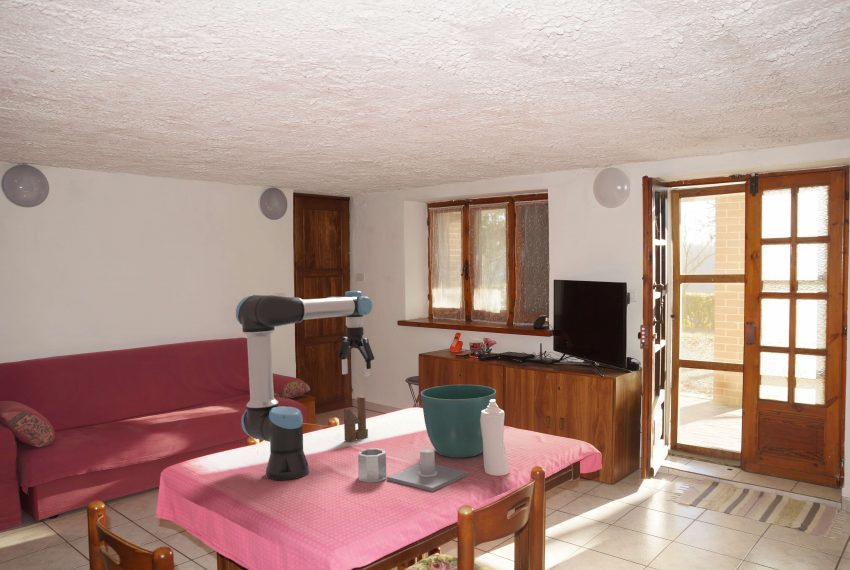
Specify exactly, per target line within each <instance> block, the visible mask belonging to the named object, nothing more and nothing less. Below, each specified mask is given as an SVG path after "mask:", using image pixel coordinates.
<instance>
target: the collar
mask: <svg viewBox="0 0 850 570" xmlns="http://www.w3.org/2000/svg"><path fill="white" fill-rule="evenodd" d="M357 460H358V461H357V468H358V481H360V482H361V483H367V484H368V483H370V484H371V483H380V482H383V481H385V480H387V452H386V449H384V448H383V449H382V448H377V447H375V448H374V447H373V448H365V449H360V450H359V451H357Z"/></svg>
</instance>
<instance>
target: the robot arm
mask: <svg viewBox="0 0 850 570" xmlns="http://www.w3.org/2000/svg"><path fill="white" fill-rule="evenodd" d="M344 293H345V294H344V296H339V295H338V296H327V297H325V298H308V299H306V298H305V299H302V298H300V297H299V296H298V297H297V296H293V297H291V296H283V295H282V296H281V295H275V294H274V295H271V294H270V295H269V294H268V295H265V294H264V295H263V294H262V295H261V294H260V295H259V294H253V295H248V296H245V297H243V298H242V299H241V300H240V301H239V302H238V303H237V305H236V308H235V318H236V320H237V322H238V323H239V324H240V325H241V329H242V333H243V334H244V335H245V336H246V340H247V341H246V343H247V357H248V358H247V359H248V361H247V362H248V378H249V379H248V380H249V381H248V383H249V398H250V399H249V401H248V402H247V403H246V405H245V406H246V409H245V410H244V413H243V414H242V415H241V419H240V420H241V421H240V422H241V428H242V430H243V432H244V433H245V434H246V435H247V436H249V437H250V438H253V439H254V440H255V439H256V440H262V441H265V442H269V447H270V448H269V449H270V451H269V452H270V454H269V458H268V462H267V466H266V469H265V477H266V478H268V479H270V480H273V481H287V480H294V479H295V480H296V479H298V478H302V477H305V476H307V474H309V472H310V470H309V468H310V466H309V464H308V460H307V457H306V455H305V452H304V430H303V429H304V420H303V414H302V411H301V410H300V409H299V408H297V407H293V406H284V405H282V406H279V400H278V399H276V398H275V397H274V396H275V391H274V374H273V373H274V372H273V357H272V354H273V353H272V336H271V335H272V334H273V333H274V332H275V327H276V328H277V327H282V326H286V325H291V324H299V323H301V322H302V321H304V320H314V319H315V320H316V319H324V318H336V317H337V318H338V317H345V327H346V329H345V334H346V336H342V338H341V344H340V346H339V349H338V352H337V356H336V357H337V358H339V359H340V366H341V375H347V374H348V373H349V371H348V370H349V367H348V359H347V357H348V356H349V354H350V352H351V351H352V349H356V350H358V351H359V352H360V354H361V355H362V357H363V359H364V362H363V365H364V366H363V371H364V372H363V373H364V378H367V377H371V368H372V366H371V365H372V361H374V360H375V356H374V352H373V351H372V348H371V345H370V343H369V338H368V337H365V338H363V336H364V331H365V330H364V316H367V315H369V314H370V313H371V312H372V309H373V301H372V300H371V298H369V297H368V296H364V295H363V292H362V291H360V290H357V291H356V290H351V291H350V290H349V291H345V292H344Z"/></svg>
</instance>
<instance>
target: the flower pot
mask: <svg viewBox="0 0 850 570" xmlns="http://www.w3.org/2000/svg"><path fill="white" fill-rule="evenodd" d="M420 397H421V405H422V412H423V418H424V419H423V420H424V424H425V430H426V432H427V436H428V439H429V441H430V443H431V445H432V447H433V449H434V451H435V452H437V454H439V455H441V456H444V457H447V458H456V459H457V458H458V459H459V458H460V459H461V458H469V457H470V458H472V457H475V456H478V455H481V454H483V438H482V431H481V423H480V417H481V413H482V412H481V411H482V410H485V409H486V408H487V406H489V404H490V400H492V399H495V400H496V398H497V390H496V389H495V388H493V387H489V386H485V385H478V384H477V385H476V384H448V385H440V386H434V387H428V388H426V389H424V390H422V391H421V392H420ZM496 401H497V400H496Z"/></svg>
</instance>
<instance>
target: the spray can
mask: <svg viewBox="0 0 850 570" xmlns="http://www.w3.org/2000/svg"><path fill="white" fill-rule="evenodd" d="M496 401H497V400H495V399H492V400H490V404H489V406H487V408H486V409H485V410H482V411H481V412H482V413H481V417H480V423H481V431H482V438H483V452H482V454H483V455H482V456H483V465H484V466H483V467H484V472H485V474H486V475H487V474H488V475H490V476H496V477H497V476H498V477H499V476H506V475H508V474H509V473H510V469H509V468H510V467H509V462H508V457H507V452H506V446H505V441H504V439H505V438H504V437H505V436H504V434H505V433H504V432H505V431H504V430H505V415H506V414H505V411H504V410H503V409H501V408H500V407H499V405H498V404H497V403H496Z"/></svg>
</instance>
